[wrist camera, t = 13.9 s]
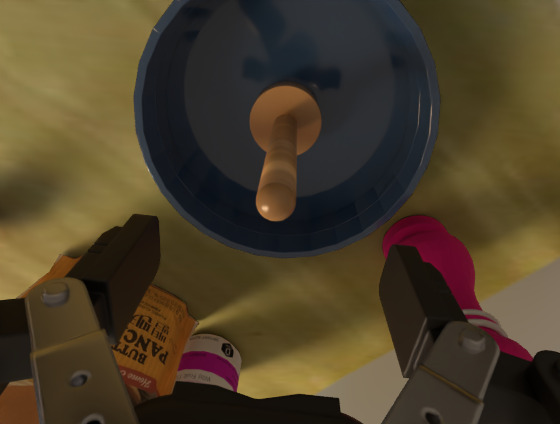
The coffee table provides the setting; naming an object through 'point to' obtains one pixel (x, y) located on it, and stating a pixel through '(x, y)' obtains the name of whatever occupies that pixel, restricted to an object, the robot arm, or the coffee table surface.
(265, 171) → the wooden disc peg
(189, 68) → the bowl
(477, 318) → the pepper mill
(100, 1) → the coffee table surface
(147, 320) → the pancake mix bag
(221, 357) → the supplement can
